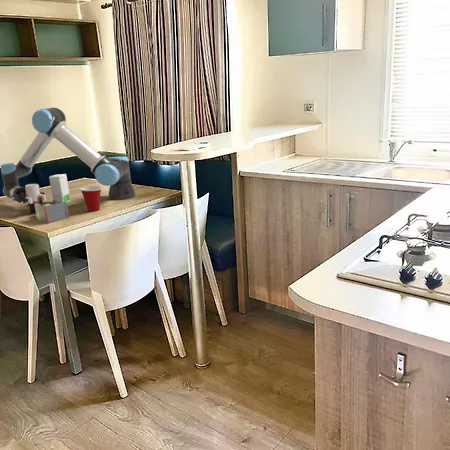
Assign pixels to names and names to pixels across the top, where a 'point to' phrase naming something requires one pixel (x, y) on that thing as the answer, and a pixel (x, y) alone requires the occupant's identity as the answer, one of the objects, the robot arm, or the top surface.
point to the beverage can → (33, 196)
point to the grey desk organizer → (52, 211)
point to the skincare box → (60, 187)
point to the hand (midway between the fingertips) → (38, 199)
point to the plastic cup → (92, 198)
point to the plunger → (42, 202)
